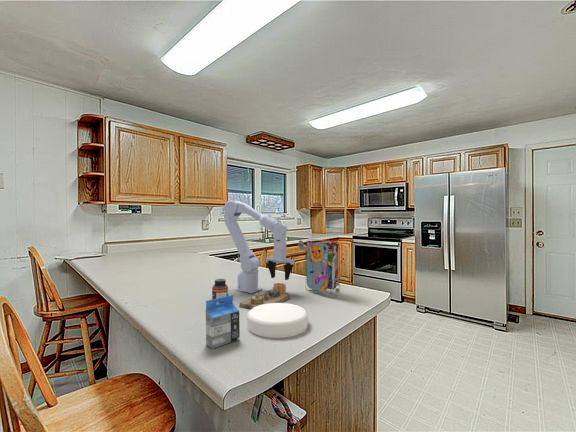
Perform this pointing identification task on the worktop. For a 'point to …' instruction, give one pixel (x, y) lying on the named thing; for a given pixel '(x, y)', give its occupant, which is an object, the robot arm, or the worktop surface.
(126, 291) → the worktop surface
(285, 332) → the container
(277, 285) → the idler gear
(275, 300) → the gear board
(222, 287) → the supplement bottle
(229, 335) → the label tape box
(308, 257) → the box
